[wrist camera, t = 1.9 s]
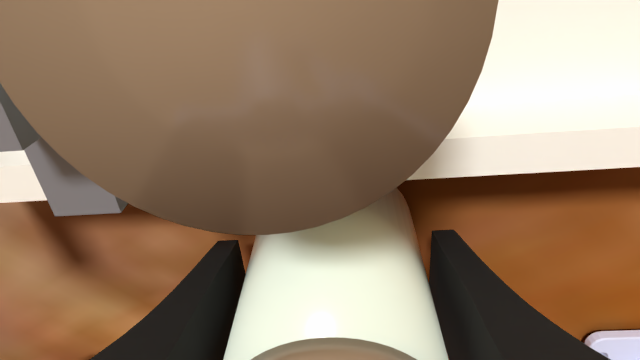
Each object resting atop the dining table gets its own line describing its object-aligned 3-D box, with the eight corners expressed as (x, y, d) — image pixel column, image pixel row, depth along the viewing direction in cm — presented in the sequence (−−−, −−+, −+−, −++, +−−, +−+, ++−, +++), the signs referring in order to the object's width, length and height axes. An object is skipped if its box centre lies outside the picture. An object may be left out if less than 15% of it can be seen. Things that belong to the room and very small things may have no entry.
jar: (410, 282, 16) (457, 507, 9) (272, 287, 16) (231, 508, 10) (413, 157, 13) (479, 354, 7) (249, 167, 13) (177, 362, 7)
